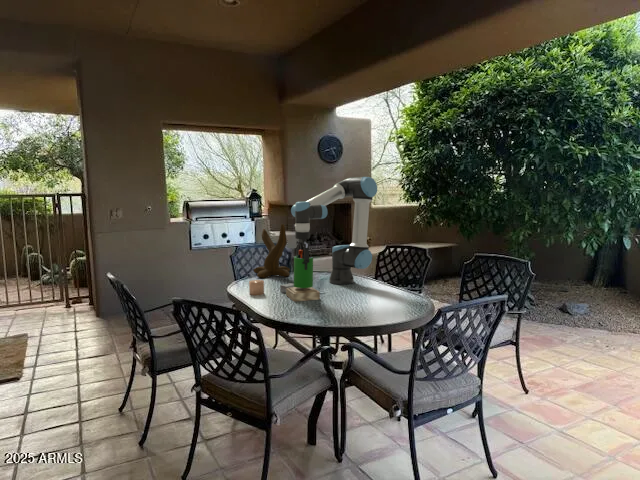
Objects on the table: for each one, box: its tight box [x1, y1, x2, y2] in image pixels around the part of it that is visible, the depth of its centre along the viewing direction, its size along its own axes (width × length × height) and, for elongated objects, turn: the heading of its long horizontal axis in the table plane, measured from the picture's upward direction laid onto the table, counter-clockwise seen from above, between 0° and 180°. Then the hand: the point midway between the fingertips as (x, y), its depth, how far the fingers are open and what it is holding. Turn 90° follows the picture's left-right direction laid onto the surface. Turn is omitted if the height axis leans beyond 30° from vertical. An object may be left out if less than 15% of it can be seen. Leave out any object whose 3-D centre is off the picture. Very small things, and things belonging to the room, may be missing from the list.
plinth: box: [285, 286, 321, 302], centre depth 231 cm, size 14×14×5 cm
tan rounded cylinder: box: [248, 279, 265, 297], centre depth 239 cm, size 8×8×7 cm
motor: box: [293, 250, 314, 288], centre depth 229 cm, size 10×9×20 cm
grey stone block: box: [279, 282, 294, 294], centre depth 245 cm, size 8×5×4 cm, turn 138°
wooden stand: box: [253, 223, 291, 279], centre depth 293 cm, size 29×29×35 cm
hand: (302, 274), depth 230 cm, fingers closed on motor, 7 cm apart
